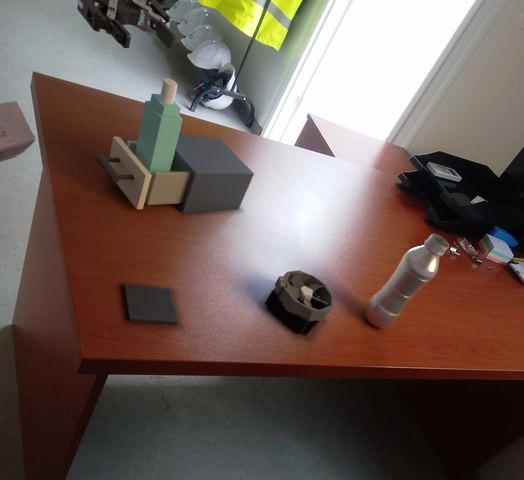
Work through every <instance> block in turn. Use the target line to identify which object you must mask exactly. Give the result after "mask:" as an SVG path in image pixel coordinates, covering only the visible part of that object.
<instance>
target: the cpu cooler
mask: <svg viewBox="0 0 524 480" xmlns="http://www.w3.org/2000/svg"><path fill="white" fill-rule="evenodd" d="M264 305H265V306H266V310H268V311H269V312H270V313H271V314H272V315H274V316H275V317H276V318H277V319H278V320H280V321H281V322H282V323H284V324H285V325H286V326H287V327H289V328H290V329H292V331H293V332H295V333H296V334H299V335H300V334H303V335H304V336H305V337H306V336H307V335H308V334H309V333H310V332H311V331H312V330H313V329H314V328H315V327H316V326H317V325H318V324H319V323H320V322H321V321H324V320H325V319H326V317H327V316H329V313H330V312H331V311H332V310H333V309H334V305H335V297H334V294H332V292H331V290H330V288H329V286H328V285H327V284H326V283H325V282H324V281H321V280H320V279H318V278H317V277H315V276H314V275H312V274H310V273H307V272H304V271H302V270H299V269H297V270H290V271H286V272H285V273H284V274H283V275H282V276H281V275H279V276H278V278H277V279H276V281H275V282H274V289H272V290H271V292H270V293H269V295H268V296H267V298H266V300H265V301H264Z"/></svg>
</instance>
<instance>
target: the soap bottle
mask: <svg viewBox="0 0 524 480" xmlns="http://www.w3.org/2000/svg"><path fill="white" fill-rule="evenodd" d="M177 87H178V83H177V82H176V81H175V80H173V79H171V78H167V77H165V78H164V79H163V81H162V85H161V91H160V93H151V96H150V99H149V100H145V101H144V105H143V110H142V116H141V122H140V127H139V131H138V137H137V141H138V142H137V147H136V152H135V156H136V157H137V158H138V160H139V161H140V162H141V163H142V164H143V166H144V167H145V168H146V169H147V170H148V172H149V173H150V174H151V175H152V177H153V174H154V172H170V168H171V164H172V160H173V156H174V152H175V148H176V144H177V141H178V137H179V135H180V133H181V128H182V124H183V122H184V121H183V118H182V117H181V115H180V113H181V110H182V109H181V107H180V105H178V104H177V102H176V101H174V100H175V96H176V93H177ZM152 177H151V180H150V184H149V188H150V185H151V181H152ZM149 188H148V191H147V193H148V192H149Z"/></svg>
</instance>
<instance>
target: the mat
mask: <svg viewBox="0 0 524 480" xmlns="http://www.w3.org/2000/svg"><path fill="white" fill-rule="evenodd" d="M123 292H124V298H125V304H126V310H127V317H128V322H132V323H134V322H135V323H146V324H159V325H161V324H162V325H178V323H179V322H178V316H177V313H176V312H177V311H176V309H175V305H174V300H173V297H172V292H171V289H170V288H163V287H155V286H154V287H153V286H145V285H135V284H125V283H124V285H123Z"/></svg>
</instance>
